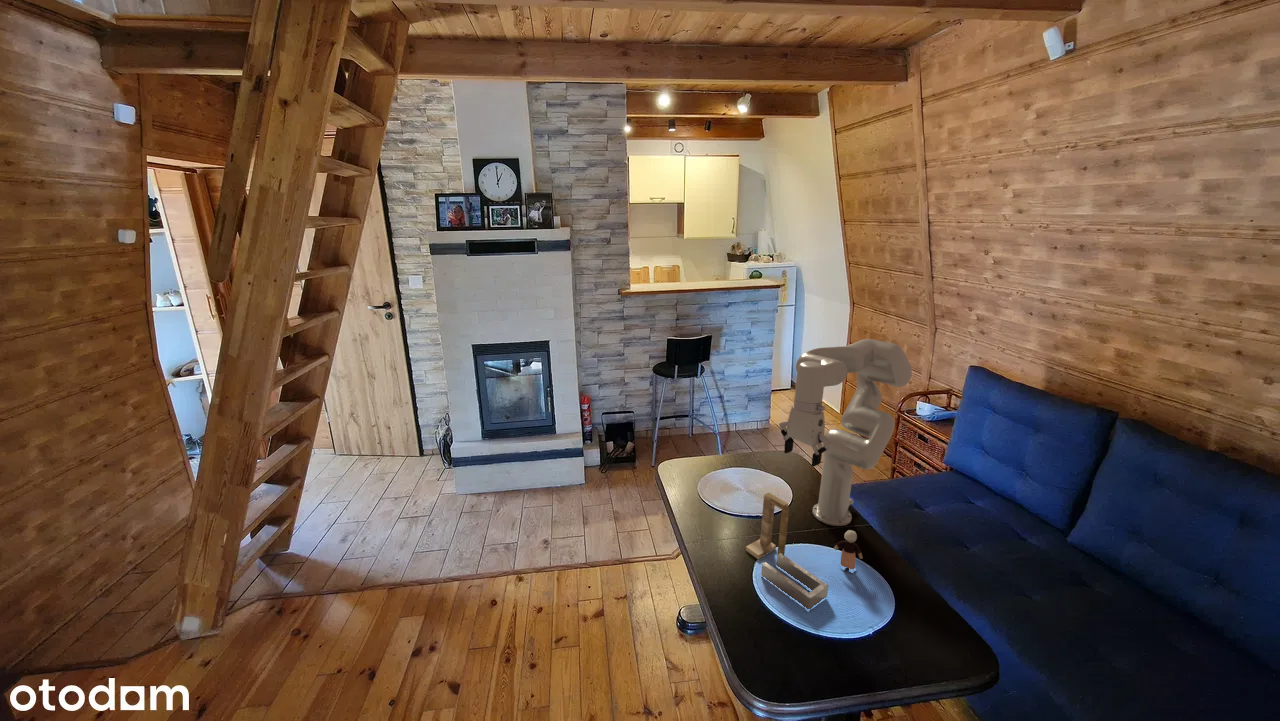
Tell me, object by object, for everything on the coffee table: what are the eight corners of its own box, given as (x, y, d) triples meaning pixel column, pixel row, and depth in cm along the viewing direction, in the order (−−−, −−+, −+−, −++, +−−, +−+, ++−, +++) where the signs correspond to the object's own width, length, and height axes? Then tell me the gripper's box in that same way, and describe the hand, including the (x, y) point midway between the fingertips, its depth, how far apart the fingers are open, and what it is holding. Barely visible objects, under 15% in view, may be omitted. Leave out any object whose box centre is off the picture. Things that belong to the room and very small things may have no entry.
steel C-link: (826, 598, 134) (828, 585, 132) (808, 612, 129) (810, 598, 128) (779, 565, 146) (780, 552, 145) (761, 576, 142) (762, 563, 140)
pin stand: (763, 540, 157) (767, 489, 152) (787, 557, 150) (793, 503, 144) (745, 550, 153) (749, 497, 147) (769, 567, 145) (775, 513, 140)
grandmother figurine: (859, 566, 146) (865, 530, 142) (860, 575, 142) (866, 538, 139) (831, 560, 148) (836, 524, 144) (831, 569, 145) (837, 532, 141)
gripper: (842, 411, 137) (835, 466, 142) (791, 393, 150) (786, 444, 155) (826, 417, 133) (819, 474, 138) (775, 398, 146) (770, 450, 151)
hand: (801, 458), depth 146 cm, fingers open, 9 cm apart
